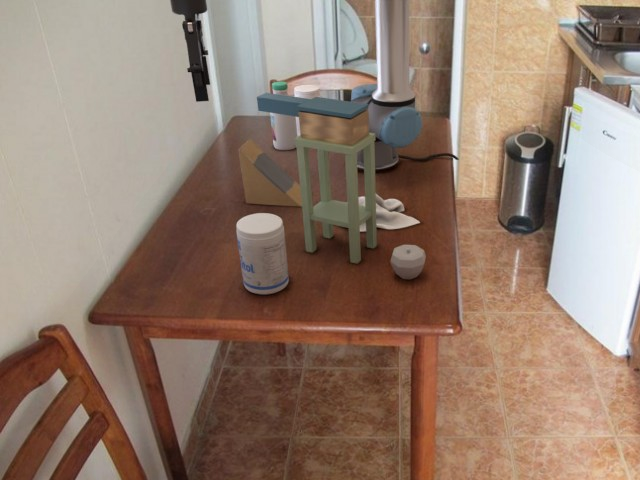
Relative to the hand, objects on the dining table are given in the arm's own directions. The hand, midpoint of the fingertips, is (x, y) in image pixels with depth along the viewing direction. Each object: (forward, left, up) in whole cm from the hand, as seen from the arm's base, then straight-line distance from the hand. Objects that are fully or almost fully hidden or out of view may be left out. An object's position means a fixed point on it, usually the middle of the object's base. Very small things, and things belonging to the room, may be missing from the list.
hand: (203, 92), depth 154 cm
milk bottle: (-28, -41, -31) cm, 59 cm away
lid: (-18, +26, 0) cm, 31 cm away
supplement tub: (-1, +39, -31) cm, 50 cm away
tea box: (-21, +30, -4) cm, 37 cm away
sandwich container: (-15, -3, -31) cm, 35 cm away
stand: (-21, +30, -31) cm, 48 cm away
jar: (-39, -50, -31) cm, 71 cm away
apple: (-30, +48, -31) cm, 65 cm away
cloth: (-35, +18, -31) cm, 50 cm away
